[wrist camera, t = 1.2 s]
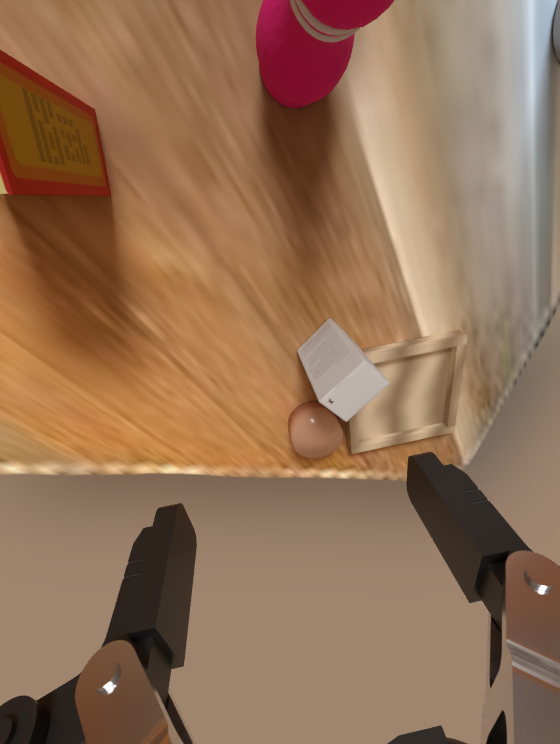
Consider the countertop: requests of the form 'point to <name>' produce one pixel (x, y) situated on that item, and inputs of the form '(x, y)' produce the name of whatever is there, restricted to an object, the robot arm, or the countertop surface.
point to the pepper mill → (309, 45)
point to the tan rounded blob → (314, 430)
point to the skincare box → (340, 371)
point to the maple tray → (411, 392)
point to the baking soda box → (46, 137)
